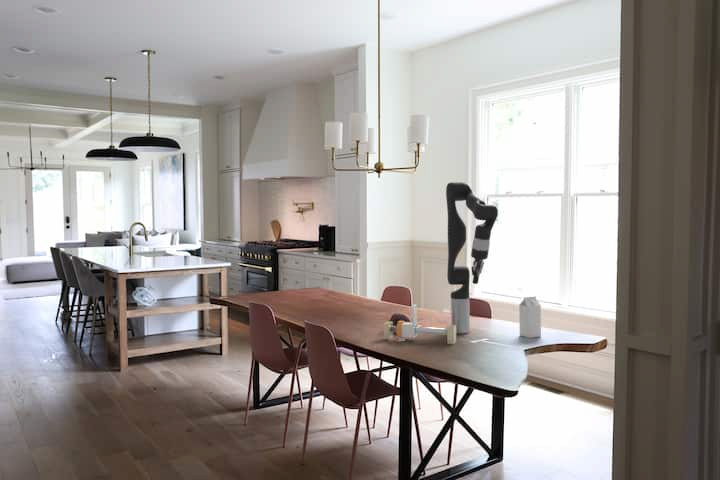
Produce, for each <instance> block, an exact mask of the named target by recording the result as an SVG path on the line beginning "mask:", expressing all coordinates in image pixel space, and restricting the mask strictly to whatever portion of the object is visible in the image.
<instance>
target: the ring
mask: <svg viewBox="0 0 720 480" xmlns="http://www.w3.org/2000/svg"><path fill="white" fill-rule="evenodd" d="M403 323H405V322H404V321H398V324H397V328H396V332H395V333H396V337H397V338H404V337H402V324H403Z"/></svg>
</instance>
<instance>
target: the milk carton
mask: <svg viewBox="0 0 720 480" xmlns="http://www.w3.org/2000/svg"><path fill="white" fill-rule="evenodd" d="M518 305H519V306H518V307H519V308H518V309H519V311H518V312H519V336H521V337H524V338H527V339H530V338H539V337H541V336H542V318H541V317H542V313H541V312H542V307H541V304H540V302H539V301H538V300H537V296H527V297H526V296H525V297H523V300H522V301H521V303H520V304H518Z"/></svg>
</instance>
